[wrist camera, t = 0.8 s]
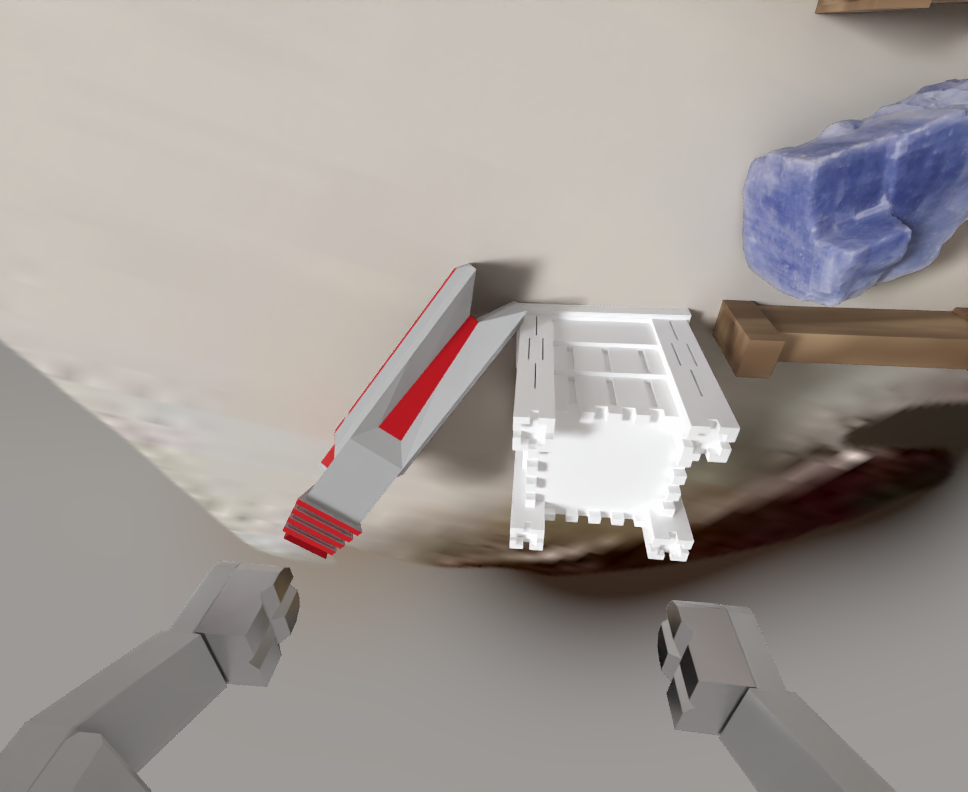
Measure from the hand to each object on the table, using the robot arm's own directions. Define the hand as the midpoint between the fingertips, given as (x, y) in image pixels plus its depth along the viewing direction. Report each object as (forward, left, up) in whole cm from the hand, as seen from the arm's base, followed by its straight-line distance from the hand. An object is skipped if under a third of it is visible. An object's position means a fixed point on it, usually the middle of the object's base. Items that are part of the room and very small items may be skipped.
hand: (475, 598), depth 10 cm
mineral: (-1, +22, -32) cm, 39 cm away
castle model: (+16, +7, -32) cm, 37 cm away
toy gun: (+18, -11, -32) cm, 38 cm away
